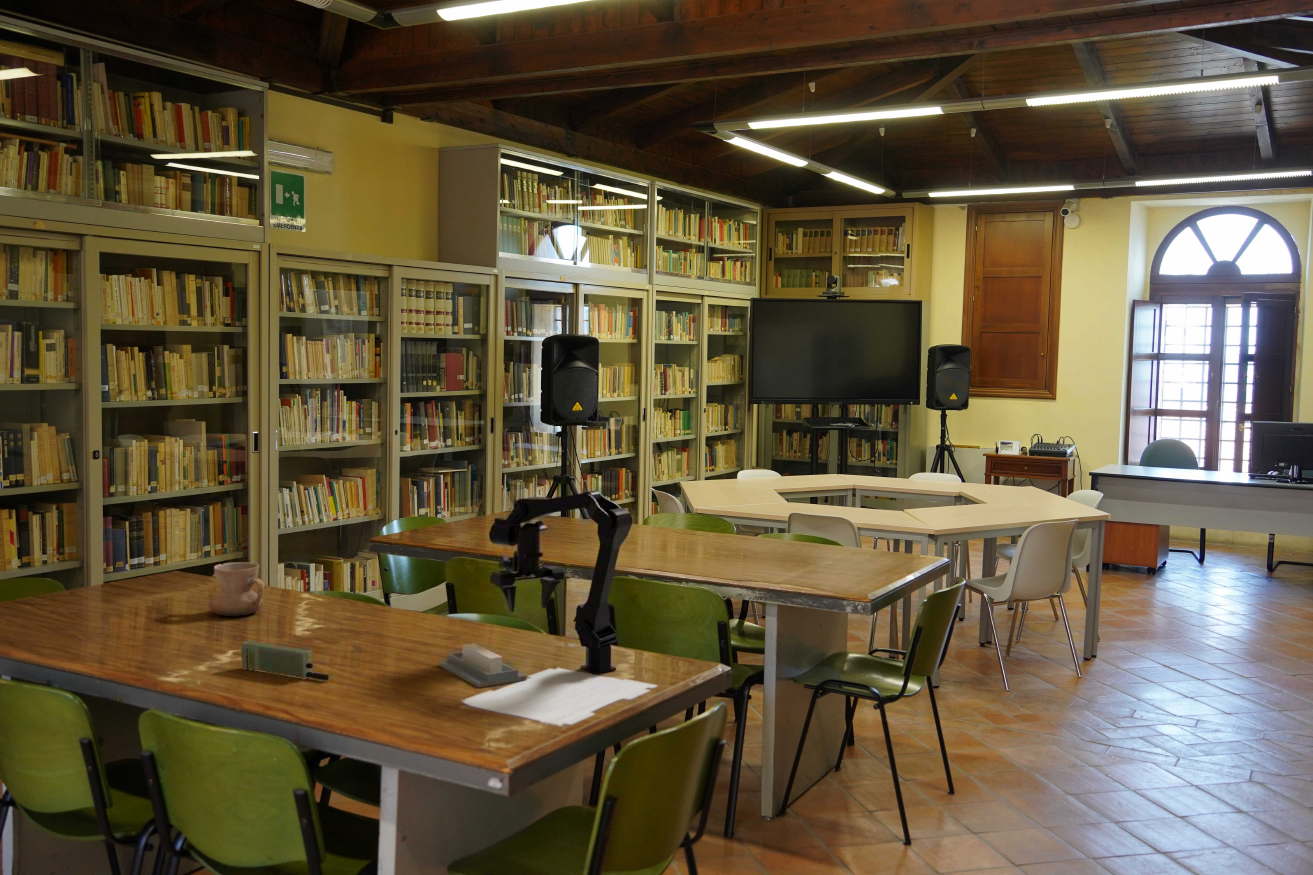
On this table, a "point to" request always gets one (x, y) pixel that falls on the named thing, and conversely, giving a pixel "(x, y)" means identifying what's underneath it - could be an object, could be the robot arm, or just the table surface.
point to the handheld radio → (279, 660)
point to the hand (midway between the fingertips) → (527, 609)
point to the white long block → (482, 658)
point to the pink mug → (237, 589)
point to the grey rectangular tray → (479, 672)
